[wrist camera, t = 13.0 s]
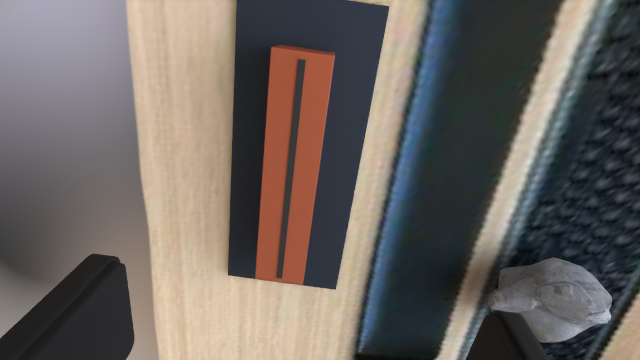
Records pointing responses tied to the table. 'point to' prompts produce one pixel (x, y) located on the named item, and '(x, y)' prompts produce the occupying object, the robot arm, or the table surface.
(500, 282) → the fossil
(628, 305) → the table surface
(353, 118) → the mat
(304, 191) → the pencil case
